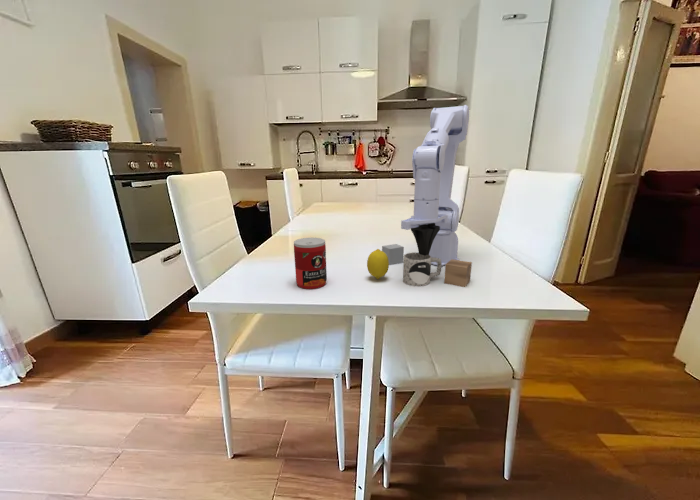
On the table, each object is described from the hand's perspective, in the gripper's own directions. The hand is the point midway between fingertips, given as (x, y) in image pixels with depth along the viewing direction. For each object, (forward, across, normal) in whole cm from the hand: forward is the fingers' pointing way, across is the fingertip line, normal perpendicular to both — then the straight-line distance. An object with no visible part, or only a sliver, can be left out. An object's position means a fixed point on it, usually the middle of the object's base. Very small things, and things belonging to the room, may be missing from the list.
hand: (423, 254), depth 78 cm
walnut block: (+7, -6, +6) cm, 11 cm away
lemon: (+7, +8, -8) cm, 13 cm away
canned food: (+7, +23, -16) cm, 29 cm away
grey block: (+7, -5, -16) cm, 18 cm away
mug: (+7, 0, 0) cm, 7 cm away
